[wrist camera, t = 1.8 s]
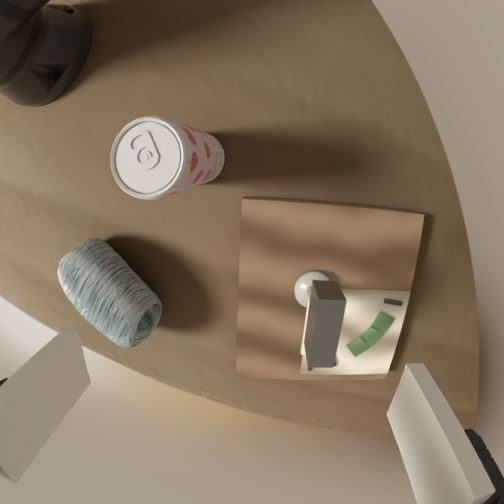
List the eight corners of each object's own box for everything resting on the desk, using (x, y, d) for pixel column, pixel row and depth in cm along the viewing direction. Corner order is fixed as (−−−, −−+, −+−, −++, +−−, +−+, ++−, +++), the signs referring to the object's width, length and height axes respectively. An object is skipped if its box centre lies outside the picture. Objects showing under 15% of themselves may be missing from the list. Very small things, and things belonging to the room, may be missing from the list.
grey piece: (297, 258, 32) (306, 298, 23) (334, 260, 32) (357, 300, 23) (287, 348, 36) (290, 406, 26) (320, 349, 35) (332, 406, 26)
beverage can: (196, 122, 31) (142, 96, 17) (236, 155, 32) (207, 150, 18) (164, 162, 33) (92, 166, 18) (201, 194, 33) (151, 220, 19)
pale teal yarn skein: (188, 311, 34) (118, 357, 26) (156, 332, 40) (98, 369, 32) (128, 211, 34) (53, 237, 27) (106, 248, 41) (46, 273, 33)
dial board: (243, 196, 33) (241, 199, 31) (416, 211, 32) (425, 215, 30) (237, 366, 39) (235, 377, 37) (381, 370, 39) (386, 380, 36)
